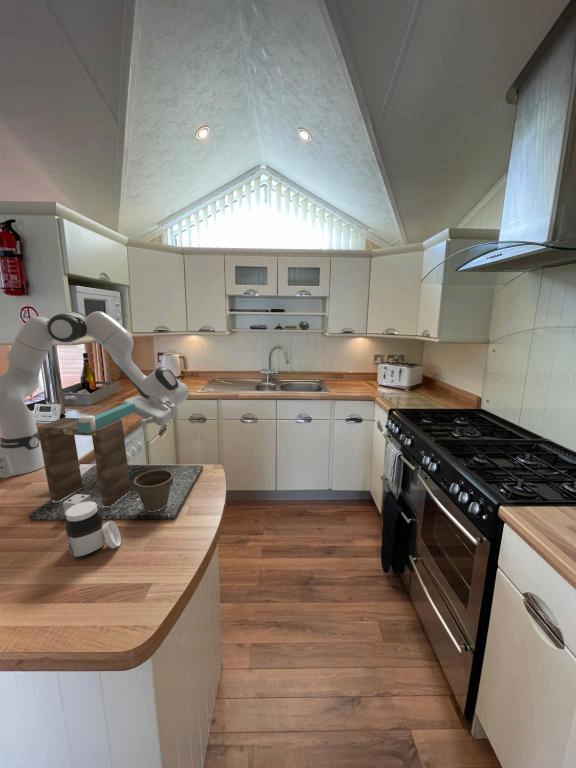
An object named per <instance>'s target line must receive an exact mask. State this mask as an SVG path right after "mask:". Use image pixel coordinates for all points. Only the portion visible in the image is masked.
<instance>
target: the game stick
mask: <svg viewBox="0 0 576 768" xmlns="http://www.w3.org/2000/svg"><path fill="white" fill-rule="evenodd" d="M134 412H136V411H135V404H131V403H125V404H124V403H123V404H120V405H118V406H115V407H113V408H110V409H107V410H106V411H104V412H100V413H98V414H95V415H83V416H81V417H78V418H79V422H77V426H78V432H81V433H90V432H92V431H95V430H96V429H98V428H101V427H103V426H105V425H107V424H110V423H112V422H114V421H116V420H122V419H123V418H124V417H127V416H129V415H131V414H135V413H134Z"/></svg>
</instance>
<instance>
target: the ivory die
mask: <svg viewBox="0 0 576 768" xmlns="http://www.w3.org/2000/svg"><path fill="white" fill-rule="evenodd" d="M91 500H92V499H91V495H90V494H81V493H80V494H79V493H75V494H74V495H72V496H71V497H69V498H67V499H66V500H64V501H63V502H62V505H63V511H64V514H65V512H66V511H67V510H68V509H69V508H70V507H72V506H74V505H76V504H79V503H82V502H92V501H91Z"/></svg>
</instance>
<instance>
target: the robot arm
mask: <svg viewBox="0 0 576 768" xmlns="http://www.w3.org/2000/svg"><path fill="white" fill-rule="evenodd" d="M84 337H90V338H92V339H93V340H95V341H96V342H97V343H98V344H99V345H100V346H102V348H104V349H105V350H106V351H107V352H108V354H109V356H110V357H111V360H112V362H113V363H114V364H115V366H116V367H117V368H118V369H119V370H120V371H121V372H122V373H123V375H124V376H125V377H126V378H127V380H129V381H130V382H131V383H132V384H133V386H134V387H135V388H136V390H137V392H138V393H139V395H135V396H132V397H129V398H126V399H124V400H123V404H125V403H131V404H135V411H136V412H134V413H133V414H134V415H136V416H139V417H141V419H140V420H139V424H140V425H141V426H144V425H147V424H153V423H154V424H156V425H158V426H165V425H166V424H167V423H169V422H170V421H171V420H173V419H174V418H175V413H176V407H177V406H180V405H181V404H183V403H184V402H185V401H186V400H187V399H188V398H189V395H190V390H189V387H188V386H187V384H185V383H183V382H181V381H179V380H178V379H177V377H176V376H175V375H174V372H172V371H171V369H169V368H168V367H165V366H160V367H157V368H156V369H155V370H154V371H152V372H151V373H150V374H149V375H145V374H144V373H143V372H142V371H141V369H140V368H139V367H138V366H137V365H136V364H135V363H134V361H133V359H132V351H133V348H134V339H133V336H132V335H131V333H130V332H129V331H128V330H127V329H126V328H125V327H124V326H122V325H121V324H120V323H119V321H117V320H115V319H114V318H113V317H111V316H110V315H108V314H106V313H105V312H104V311H100V310H99V311H93V312H90V313H89V314H88V315H87V316H86V315H85V314H83V313H81V312H77V311H64V312H61V313H59V314H56V315H53V316H52V317H50V318H47V317H45V316H41V315H40V316H39V315H37V316H36V315H34V316H31V317H29V318H28V319H27V320H26V322H25V323H24V324H23V325H22V326H21V328H20V330H19V332H18V333H17V335H16V337H15V339H14V341H13V343H12V345H11V346H10V348H9V351H8V353H7V355H6V358H7V360H8V366H7V369H6V371H5V372H4V373H3V374H0V433H1V436H2V437H0V478H1V479H2V478H3V479H6V478H11V477H14V476H19V475H25V474H28V473H31V472H35V471H37V470H40V469H42V468H45V465H44V460H43V454H42V449H41V443H40V438H39V432H38V427H37V422H36V418H35V413H34V412H33V411H32V410H30V409H29V408H28V406H27V404H26V403H25V399H26V398H27V397H29V396H31V395H32V394H34V393H35V392H37V390H38V389H39V386H40V381H39V380H40V379H39V377H40V372H41V368H42V366H43V363H44V362H45V360H46V358H47V356H48V354H49V352H50V349H52V348H51V347H52V346H53V343H55V342H57V341H58V342H60V343H72V342H76V341H78V340H81V338H84Z"/></svg>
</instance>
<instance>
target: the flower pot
mask: <svg viewBox="0 0 576 768" xmlns="http://www.w3.org/2000/svg"><path fill="white" fill-rule="evenodd" d="M173 483H174V475H173V472H171V471H170V470H165V469H155V470H148V471H145V472H143V473H141V474H139V475H136V477H135V478H134V479H133V489H134V490H135V492H137V493H138V496H139V498H140V501H141V503H142V506H143V508H144V509H146V510H149V511H155V510H158V509H161V508H163V507H164V506H166V507H167V505H168V501H169V495H170V490H171V486H172V485H173ZM166 504H167V505H166ZM146 510H145V511H146Z"/></svg>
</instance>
